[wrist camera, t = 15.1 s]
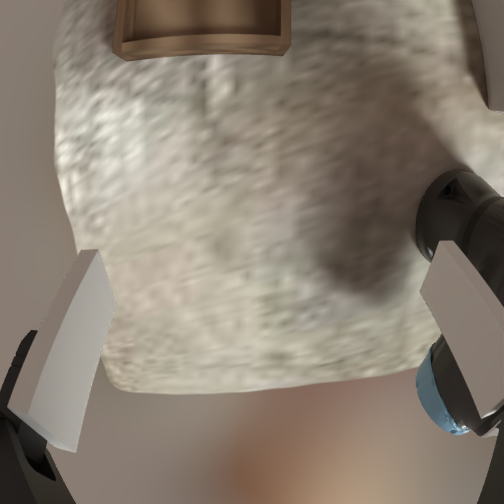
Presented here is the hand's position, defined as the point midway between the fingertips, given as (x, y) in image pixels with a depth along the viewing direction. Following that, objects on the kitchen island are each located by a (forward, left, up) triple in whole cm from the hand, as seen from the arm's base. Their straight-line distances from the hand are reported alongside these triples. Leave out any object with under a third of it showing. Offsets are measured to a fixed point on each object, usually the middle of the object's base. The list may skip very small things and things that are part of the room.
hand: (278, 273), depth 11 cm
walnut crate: (+5, -25, -26) cm, 37 cm away
